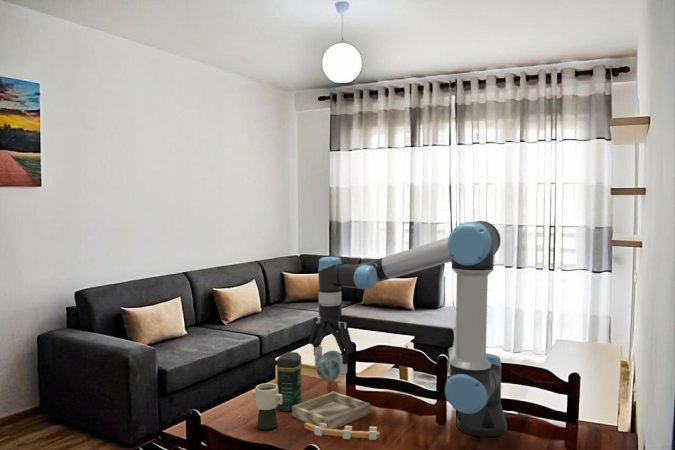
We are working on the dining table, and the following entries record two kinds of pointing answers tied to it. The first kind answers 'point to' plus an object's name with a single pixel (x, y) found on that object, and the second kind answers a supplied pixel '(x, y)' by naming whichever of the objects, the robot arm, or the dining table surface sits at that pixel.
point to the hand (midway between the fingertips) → (330, 369)
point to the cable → (339, 432)
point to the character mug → (267, 404)
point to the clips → (346, 431)
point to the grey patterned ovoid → (329, 366)
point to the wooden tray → (331, 410)
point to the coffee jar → (289, 380)
